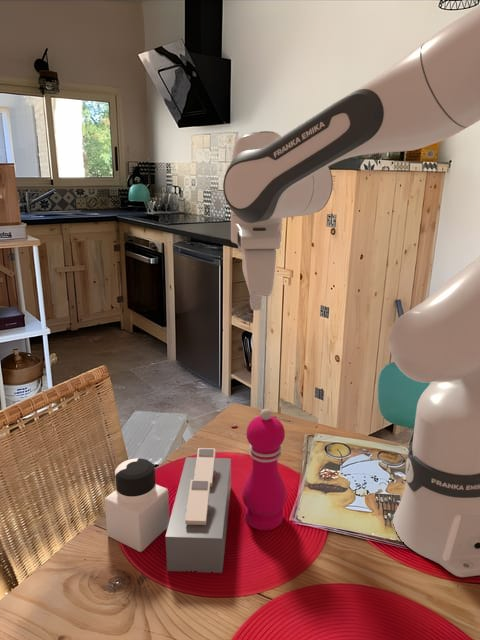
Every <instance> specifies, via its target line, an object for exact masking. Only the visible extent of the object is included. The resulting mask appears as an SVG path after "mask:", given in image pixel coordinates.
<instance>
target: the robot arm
mask: <svg viewBox="0 0 480 640" xmlns="http://www.w3.org/2000/svg"><path fill="white" fill-rule="evenodd" d="M479 121H480V6H478V7H476V8H475V9H472V10H470V11H469V12H468V13H465V14H464V15H462V16H461V17H459V18H458V19H456V20H454V21H453V22H451V23H449V24H448V25H447V26H445V27H444V28H442V29H441V30H439V31H438V32H437V33H435V34H434V35H432V36H431V37H430V38H428V39H427V40H425V41H423V43H422V44H420V45H419V46H418V47H416V48H415V49H413V50H412V51H411V52H409V53H408V54H407V55H405V56H404V57H403V58H401V59H400V60H399V61H397V62H395V64H393V65H391V66H390V67H388V68H387V69H386V70H384V71H383V72H382V73H380V74H379V75H377V76H376V77H374V78H373V79H371V80H370V81H368V82H367V83H365V84H363V85H361V86H360V87H358V88H356V89H355V90H354V91H353V90H352V92H351V93H349V94H347V95H345V96H343V97H342V98H340V99H338V100H337V101H335V102H333V103H332V104H330V105H328V106H327V107H325V108H323V109H322V110H320V111H318V112H317V113H316V114H314V115H312V116H311V117H309V118H308V119H306V120H305V121H302V123H300V124H298V125H297V126H295V127H294V128H293V129H291V130H289V131H288V132H286V134H284V135H280V134H279V133H278V132H274V131H271V130H270V131H264V130H263V131H255V132H250V133H246V134H243V135H241V136H239V137H238V138H237V139H235V143H234V146H233V150H232V156H231V162H230V164H229V165H228V167H227V168H226V172H225V175H224V178H223V182H222V183H223V184H222V190H223V195H224V199H225V202H226V204H227V206H228V207H229V209H230V210H231V211H230V242H231V243H233V244H236V245H237V252H239V253H242V256H241V258H242V261H241V262H242V264H241V265H242V266H241V267H242V269H241V270H242V272H243V273H242V274H243V276H244V281H245V284H246V286H247V289H248V293H249V307H250V309H251V310H252V311H260V310H261V308H262V298H263V297H269V296H271V294H272V292H273V288H274V283H275V282H274V281H275V272H276V262H277V250H280V248H281V242H282V226H283V219H285V218H294V217H302V216H309V215H312V214H316V213H318V212H320V211H321V210H323V209H324V208H325V207H326V205H327V204H328V202H329V201H330V198H331V196H332V191H333V186H334V185H333V182H334V181H333V174H332V171H331V169H330V166H332V165H334V164H336V163H339V162H340V161H343V160H347V159H350V158H353V157H354V158H355V157H357V156H359V157H360V156H365V155H371V154H381V153H382V154H384V153H397V152H398V153H399V152H409V151H410V152H411V151H416V150H419V149H422V148H426V147H430V146H432V145H434V144H437V143H439V142H442V141H445V140H447V139H448V138H451V137H453V136H455V135H456V134H458V133H461V132H463V131H464V130H466V129H467V128H469V127H471V126H472V125H474V124H476V123H478V122H479ZM388 343H389V345H388V346H389V351H390V354H391V358H392V360H393V362H394V363H395V365H396V366H397V368H398V369H399V371H400V372H401V373H402V374H403V375H405V377H407V378H409V380H413V381H415V382H418V383H426V384H427V383H428V384H429V385H428V386H427V387H426V388H425V389H424V390H423V392H422V393H421V395H420V397H419V398H418V401H417V404H416V411H415V420H414V427H413V435H412V441H411V442H410V443H409V448H408V453H407V457H406V463H405V481H406V482H405V487H404V489H403V492H402V495H401V498H400V502H399V504H398V507H397V508H396V510H395V512H394V513H393V516H394V518H393V517H392V525H393V524H394V527H395V530H396V532H397V534H398V535H397V534H396V535H397V537H398V536H399V537H400V538H399V537H398V538H399V539H400V541H402V543H403V542H404V545H406V546H407V547H408V548H409V549H411V550H412V551H413V552H415V553H416V554H418V555H420V556H422V557H424V558H427V559H428V560H430V561H433V562H434V563H437V564H439V565H440V566H442V567H443V568H444V569H445V570H447V571H448V572H449V573H451V574H452V575H454V576H455V577H459V578H468V577H475V576H476V577H477V576H480V255H479V256H478V257H477V258H476V259H474V260H473V261H472V262H470V264H468V265H466V266H465V267H464V268H463V269H462V270H460V271H459V272H458V273H456V274H455V275H454V276H452V278H450V279H448V281H446V282H445V283H444V284H443V285H442V286H440V287H439V288H438V289H437V290H436V291H435V292H433V293H431V295H430V296H428V297H427V298H426V299H424V301H422V302H421V303H419V304H417V305H416V306H414V307H413V308H411V309H409V310H408V311H406V312H405V313H403V314H401V315H400V316H399V317H398V318H397V319H396V320H395V321H394V322H393V325H392V326H391V329H390V332H389V338H388ZM394 527H393V528H394ZM395 530H394V531H395ZM396 532H395V533H396Z"/></svg>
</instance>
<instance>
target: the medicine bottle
mask: <svg viewBox="0 0 480 640" xmlns="http://www.w3.org/2000/svg"><path fill="white" fill-rule="evenodd" d="M114 481H115V490H114V491H113V492H112V493H110V494H109V495H107V496H106V497H104V511H105V512H104V513H105V521H106V523H105V524H106V530H107V531H106V532H107V536H108V537H109V538H111V539H114V540H115V541H118V542H120V543H121V544H123V545H125V546H127V547H130V548H131V549H132V550H135V551H137V552H140V553H142V552H143V551H145V550H146V549H147V547H149V545H150V544H152V543H153V542H154V541H155V540H156V539H157V538H158V537H159V536H160V535H161V534H163V533H164V531H166V530H167V529H168V525H169V521H170V506H169V505H170V503H169V500H170V499H169V490H168V488H167V487H163V486H161V485H159V484H157V483H156V468H155V465H154V464H153V462H151V461H150V460H148V459H145V458H140V457H139V458H136V457H135V458H130V459H127V460H124V461H123V462H121V463H120V464H119V465H118V466H117V467H116V469H115V470H114Z"/></svg>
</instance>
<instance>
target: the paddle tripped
mask: <svg viewBox="0 0 480 640" xmlns="http://www.w3.org/2000/svg"><path fill="white" fill-rule="evenodd" d="M196 454H197V455H196V458H197V459H196V466H195V474H194V480H210V487H212V483H213V473H214V463H215V458H216V448H214V447H213V448H212V447H211V448H210V447H208V448H207V447H198V448H197V453H196Z"/></svg>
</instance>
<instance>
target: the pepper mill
mask: <svg viewBox="0 0 480 640" xmlns="http://www.w3.org/2000/svg"><path fill="white" fill-rule="evenodd" d="M245 435H246V439H247V443H249V447H248V448H249V452H248V453H249V456H250V457H251V459H252V468H251V471H250V474H249V475H248V477H247V478H246V481H245V483H244V485H243V488H242V502H243V504H244V506H245V508H244V511H245V513H244V514H245V515H244V519H245V521H246V523H247V524H248V525H249V526H250V527H251V528H253V529H255V530H259V531H271V530H274V529H277V528H278V527H279V526H281V524H282V522H283V519H284V506H285V505H286V502H287V490H286V486H285V483H284V481H283V478H282V477H281V474H280V471H279V468H278V460H279V459H280V457H281V456H282V446H281V445H282V444H283V442H284V440H285V435H286V432H285V428H284V425H283V423H282V422H281V421H280V420H279V419H278V418H276V417H275V416H272V411H271V410H270V409H268V408H263V409H261V411H260V415H258V416H256V417H254V418H253V419H251V421H250V422H249V423H248V425H247V428H246V434H245ZM276 527H277V528H276Z"/></svg>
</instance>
